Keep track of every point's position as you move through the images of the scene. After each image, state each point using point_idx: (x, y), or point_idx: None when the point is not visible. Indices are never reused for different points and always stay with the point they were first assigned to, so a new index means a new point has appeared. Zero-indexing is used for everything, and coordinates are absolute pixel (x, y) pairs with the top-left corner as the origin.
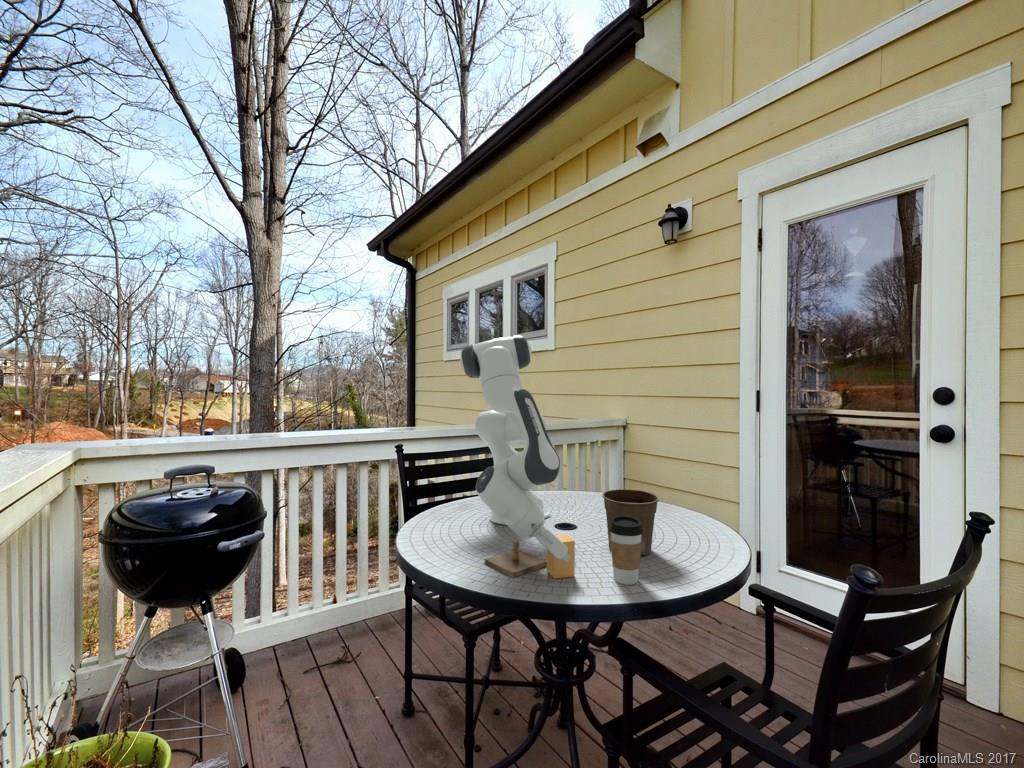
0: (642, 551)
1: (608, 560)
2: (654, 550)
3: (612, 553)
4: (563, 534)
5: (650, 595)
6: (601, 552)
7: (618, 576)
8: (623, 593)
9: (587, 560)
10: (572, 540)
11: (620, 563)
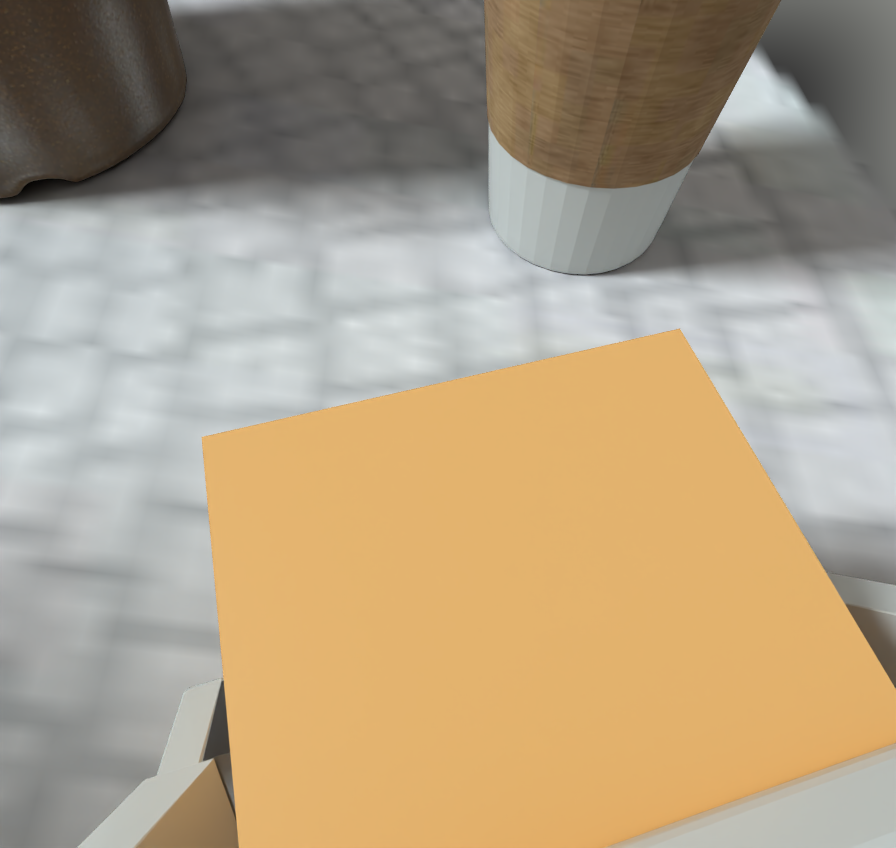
0: (175, 32)
1: (198, 247)
2: None
3: (673, 77)
4: (214, 512)
5: (782, 149)
6: (7, 263)
7: (653, 222)
8: (802, 264)
9: (157, 392)
10: (661, 365)
11: (721, 108)
